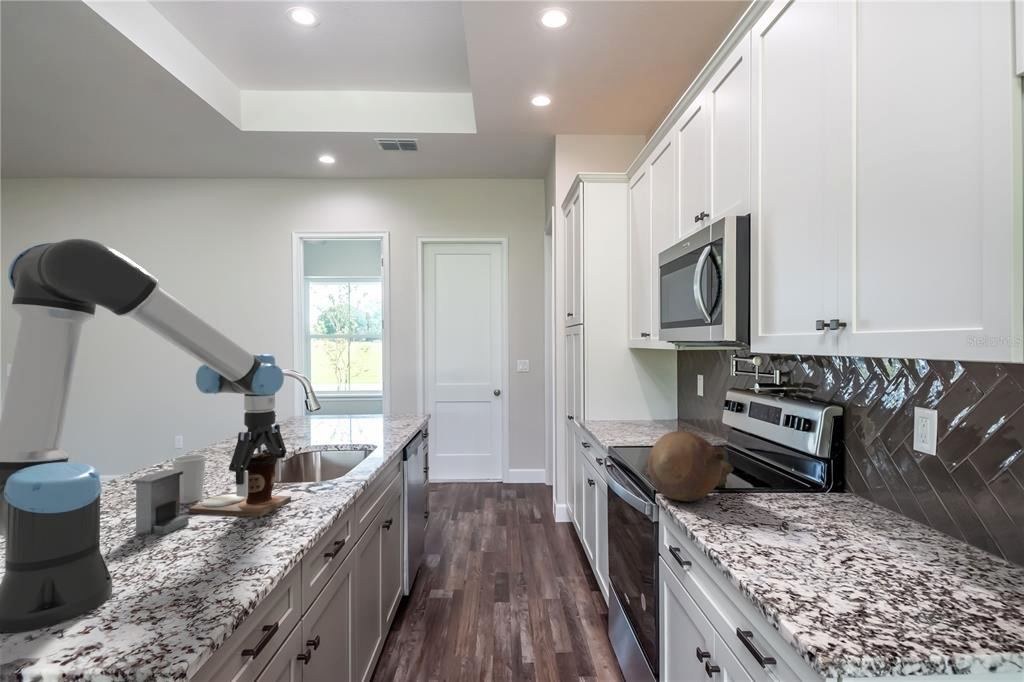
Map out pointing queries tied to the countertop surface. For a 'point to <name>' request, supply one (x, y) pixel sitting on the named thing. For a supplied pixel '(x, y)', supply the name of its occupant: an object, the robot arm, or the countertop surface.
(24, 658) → the countertop surface
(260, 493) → the coffee cup
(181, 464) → the cup
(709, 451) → the jug
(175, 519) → the miniature fireplace
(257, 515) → the walnut board
